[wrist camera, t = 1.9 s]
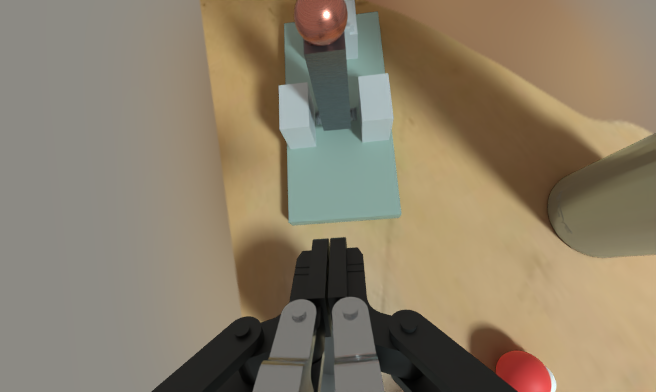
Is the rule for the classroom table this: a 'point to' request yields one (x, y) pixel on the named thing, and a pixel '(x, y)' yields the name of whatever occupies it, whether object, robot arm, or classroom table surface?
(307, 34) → the lever
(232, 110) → the classroom table surface
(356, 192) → the base
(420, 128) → the classroom table surface
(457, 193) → the classroom table surface
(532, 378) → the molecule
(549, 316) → the classroom table surface
